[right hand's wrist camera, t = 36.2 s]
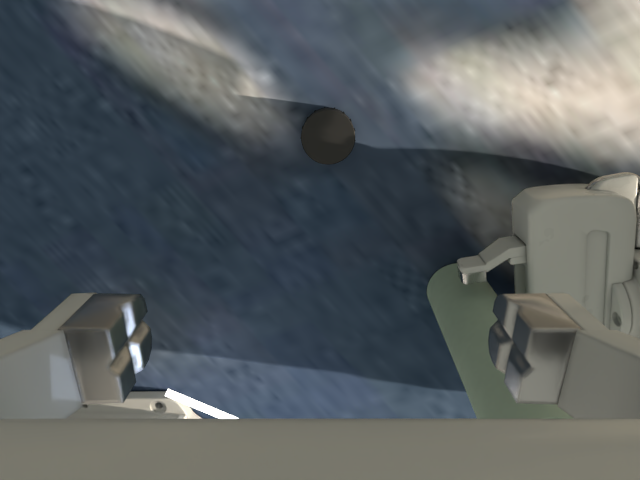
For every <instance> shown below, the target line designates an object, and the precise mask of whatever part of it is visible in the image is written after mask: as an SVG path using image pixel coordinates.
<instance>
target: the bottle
mask: <svg viewBox="0 0 640 480" xmlns="http://www.w3.org/2000/svg"><path fill="white" fill-rule="evenodd" d="M427 297H428V300H429V302H430V305H431V307H432V309H433V312H434V314H435V317H436V319H437V322H438V324H439V326H440V329H441V331H442V334H443V336H444V339H445V341H446V344H447V346H448V348H449V351H450V353H451V356H452V358H453V361H454V363H455V365H456V368H457V370H458V373H459V375H460V378H461V380H462V383H463V385H464V387H465V390H466V392H467V395H468V397H469V400H470V402H471V404H472V407H473V409H474V412H475V414H476V417H477V419H574V418H573V417H571V416H570V415H569V414H567V413H566V412H565V411H563V410H562V409H560V408H559V407H558V405H557V404H520V403H516V401H515V400H514V398H513V396H512V395H511V393H510V391H509V390H508V388H507V386H506V385H505V383H504V379H505V374H504V373H503V372H501V371H499V370H498V369H496V368H495V366H494V364H493V362H492V360H491V357H490V354H489V346H488V337H489V329H490V327H491V326H492V325H493V324H494V323H495V322H496V321H497V320H498V319H497V318H496V316H495V315H494V313H493V306H494V301H495V299H496V297H497V294H496V293H495V292H494V290H493V289H492V287H491V286H490V285H489V283H488V282H481V283H477V282H474V283H473V284H468V285H467V284H463V283H462V282H461V280H460V279H459V277H458V268H457V263H455V264H450V265H447V266H444V267H443V268H441V269H439V270H438V271H437V272H436V273H435V274H434V275H433V276H432V277H431V279H430V281H429V283H428V286H427Z"/></svg>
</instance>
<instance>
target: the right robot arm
mask: <svg viewBox="0 0 640 480" xmlns="http://www.w3.org/2000/svg"><path fill="white" fill-rule="evenodd" d="M146 313H147V307H146V302H145V298H144V297H143V296H142V295H141V294H111V293H98V294H97V293H75V294H71V295H70V296H69V297H67V298H66V299H65V300H64V301H63V302H62V303H61V304H60V305H58V306H57V307H56V308H55V309H54V310H53V311H52V312H51V313H49V314H48V315H47V316H46V317H45V318H44V319H43V320H41V321H40V322H39V323H38V324H37V325H36V326H35V327H34V328H32V329H31V330H22V331H20V332H17V333H15V334H12V335H10V336H7V337H5V338H2V339H0V480H640V339H638V338H635V337H633V336H630V335H628V334H625V333H623V332H620V331H618V330H609V329H608V328H606V327H605V326H604V325H603V324H602V323H601V322H600V321H599V320H597V319H596V318H595V317H594V316H593V315H592V314H591V313H590V312H588V311H587V310H586V309H585V308H584V307H583V306H582V305H581V304H579V303H578V302H577V301H576V300H575V299H574V298H573V297H572V296H570V295H569V294H566V293H529V294H501V295H497V297H496V299H495V301H494V306H493V313H494V315H495V316H496V318H497V319H498V320H497V321H496V322H495V323H494V324H493V325H492V326H491V327H490V329H489V337H488V346H489V354H490V357H491V360H492V362H493V364H494V366H495V368H496V369H498V370H499V371H501V372H503V373H504V374H505V379H504V383H505V385H506V386H507V388H508V390H509V391H510V393H511V395H512V396H513V398H514V400H515V401H516V403H520V404H557V405H558V407H559V408H560V409H562V410H563V411H565V412H566V413H567V414H569V415H570V416H571V417H573V418H574V419H238V418H237V417H234V416H232V415H230V414H227V413H225V412H223V411H220V410H218V409H215V408H213V407H211V406H208V405H206V404H203V403H201V402H199V401H196V400H194V399H191V398H189V397H187V396H184V395H182V394H179V393H177V392H175V391H172V390H170V389H168V390H167V391H144V392H130V391H131V390H132V388H133V386H134V385H135V383H136V379H135V374H136V373H137V372H139V371H141V370H142V369H144V368H145V366H146V364H147V362H148V360H149V357H150V353H151V348H152V336H151V329H150V327H149V326H148V325H147V324H146V323H145V322H144V321H143V320H142V319H143V318H144V316H145V315H146ZM160 403H161V404H160ZM190 407H193V408H195V409H198V410H200V411H202V412H205V413H207V414H210V415H212V416H214V417H217V418H219V419H202V418H201V417H199V416H198V415H197V414H195V413H194V412H193V411H192V409H191V408H190Z"/></svg>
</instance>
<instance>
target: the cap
mask: <svg viewBox="0 0 640 480" xmlns="http://www.w3.org/2000/svg"><path fill="white" fill-rule="evenodd" d="M354 131H355V129H354V128H353V125H352V122H351V119H349V118H348V116H347V115H346V114H344V112H342V111H340V110H338V109H335V108H325V107H324V108H322V109H319V110H317V111H316V110H315V112H314V113H312V114H311V115H310V116H309V117H307V120H306V122H305V124H304V126H303V127H302V134H301V140H302V145H303V148H304V150H305V152H306V153H307V155H308V156H309V157H310V158H311V159H313V160H314V161H316V162H318V163H321V164H335V163H338V162H340V161H342V160H343V159H345V158H346V157H347V156H348V155H349V154H350V152H351V151H352V149H353V146H354V143H355V132H354Z"/></svg>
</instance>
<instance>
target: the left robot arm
mask: <svg viewBox="0 0 640 480" xmlns="http://www.w3.org/2000/svg"><path fill="white" fill-rule="evenodd" d="M637 186H638V188H637ZM511 206H512V232H513V236H508V237H502V238H498V239H497V240H496V241H494V242H493V243H492V244H491V245H489V246H488V247H487V248H485V249H484V250H483V251H481V252H480V253H479V255H476V256H470V257H465V258H460V259H458V260H457V268H458V277H459V279H460V280H461V282H462V283H463V284H467V285H468V284H473V283H474V282H477V283H481V282H487V279H486V272H488V271H490V270H491V269H493V268H495V267H496V266H498V265H499V264H501V263H502V262H504V261H506V260H507V261H508V262H509V263H510V264H511V265H514V284H515V294H529V293H566V294H569V295H570V296H572V297H573V298H574V299H575V300H576V301H577V302H578V303H579V304H581V305H582V306H583V307H584V308H585V309H586V310H587V311H588V312H590V313H591V314H592V315H593V316H594V317H595V318H596V319H597V320H599V321H600V322H601V323H602V324H603V325H604V326H605V327H606V328H608V329H609V330H618V331H620V332H623V333H625V334H628V335H630V336H633V337H635V338H638V339H640V177H639V176H638V175H636V174H634V173H629V172H623V173H617V174H611V175H606V176H601V177H599V178H596V179H595V180H593V181H592V182H590V183H589V184H558V185H546V186H538V187H531V188H526V189H524V190H523V191H521V192H520V193H519V194H518V195H517V196H516V197H515V198H514V199H513V200H512V204H511Z"/></svg>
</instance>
